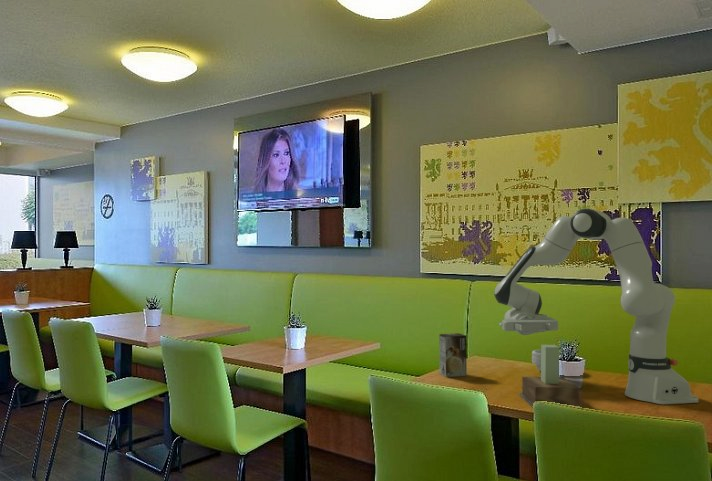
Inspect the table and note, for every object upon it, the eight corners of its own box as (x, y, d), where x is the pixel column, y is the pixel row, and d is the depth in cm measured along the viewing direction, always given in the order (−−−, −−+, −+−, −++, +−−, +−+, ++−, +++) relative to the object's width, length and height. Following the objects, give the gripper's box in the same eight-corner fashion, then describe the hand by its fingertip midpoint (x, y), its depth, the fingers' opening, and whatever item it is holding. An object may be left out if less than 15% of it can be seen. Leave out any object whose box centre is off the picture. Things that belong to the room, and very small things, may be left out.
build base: (564, 394, 196) (564, 376, 196) (583, 408, 180) (583, 388, 180) (518, 394, 196) (518, 376, 196) (533, 407, 180) (533, 387, 180)
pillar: (554, 380, 191) (554, 344, 191) (558, 383, 186) (559, 347, 186) (540, 380, 191) (541, 344, 191) (545, 383, 186) (545, 347, 186)
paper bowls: (565, 367, 239) (565, 349, 239) (575, 376, 224) (575, 356, 224) (528, 366, 241) (528, 348, 241) (536, 375, 226) (536, 355, 226)
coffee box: (459, 372, 229) (460, 332, 229) (466, 376, 222) (467, 335, 222) (438, 373, 226) (439, 333, 226) (445, 377, 220) (445, 336, 220)
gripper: (497, 315, 217) (507, 319, 203) (550, 314, 217) (563, 318, 204) (497, 331, 217) (507, 337, 203) (550, 330, 217) (564, 336, 203)
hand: (536, 327), depth 203 cm, fingers open, 8 cm apart
